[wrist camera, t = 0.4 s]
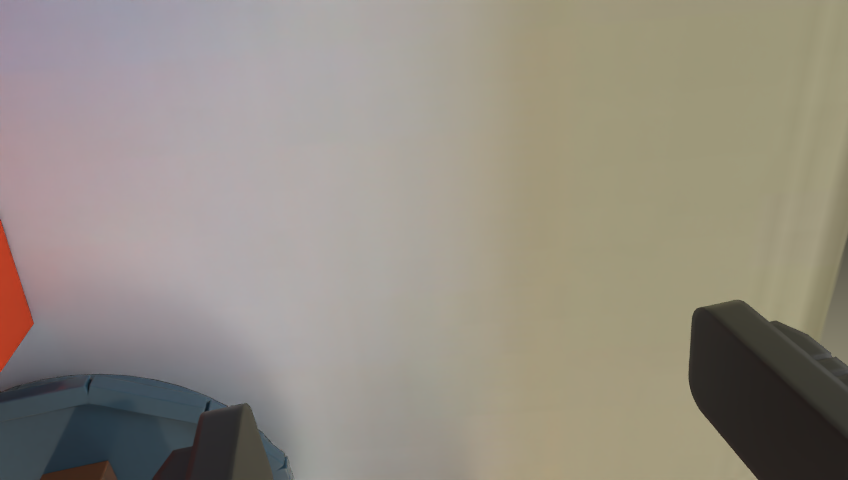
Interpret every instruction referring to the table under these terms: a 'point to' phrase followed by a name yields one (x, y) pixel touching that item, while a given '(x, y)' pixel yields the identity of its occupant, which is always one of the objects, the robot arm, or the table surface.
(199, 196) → the table surface
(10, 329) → the tall red box
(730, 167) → the table surface
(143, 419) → the plate
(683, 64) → the table surface
